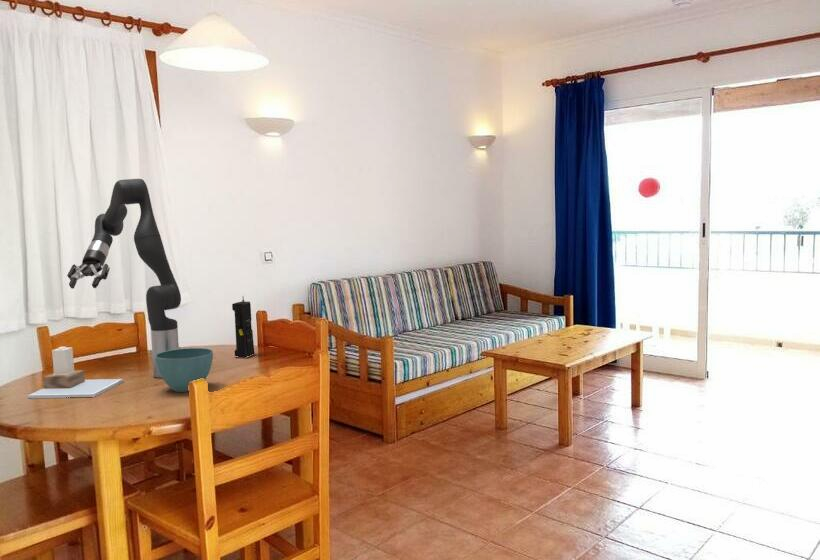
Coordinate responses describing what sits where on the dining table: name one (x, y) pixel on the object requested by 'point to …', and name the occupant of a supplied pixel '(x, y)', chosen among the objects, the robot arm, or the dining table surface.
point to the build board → (73, 386)
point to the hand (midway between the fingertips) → (82, 287)
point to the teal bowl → (184, 366)
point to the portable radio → (243, 329)
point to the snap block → (63, 361)
